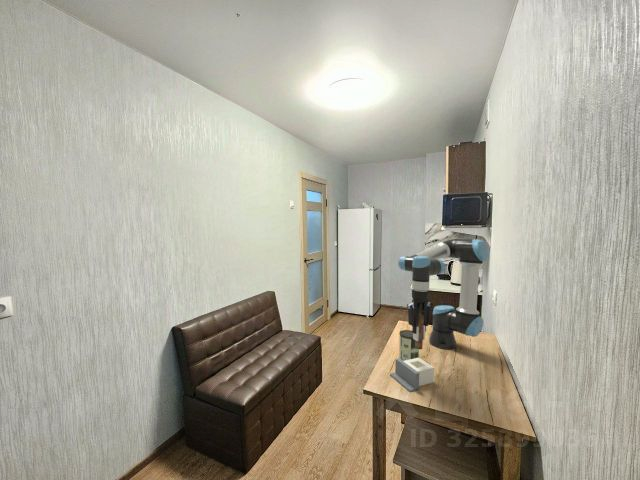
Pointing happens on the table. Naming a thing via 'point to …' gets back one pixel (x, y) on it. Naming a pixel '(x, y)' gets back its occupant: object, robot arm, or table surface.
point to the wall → (406, 376)
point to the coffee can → (407, 346)
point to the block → (422, 370)
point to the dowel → (420, 332)
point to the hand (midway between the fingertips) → (418, 339)
